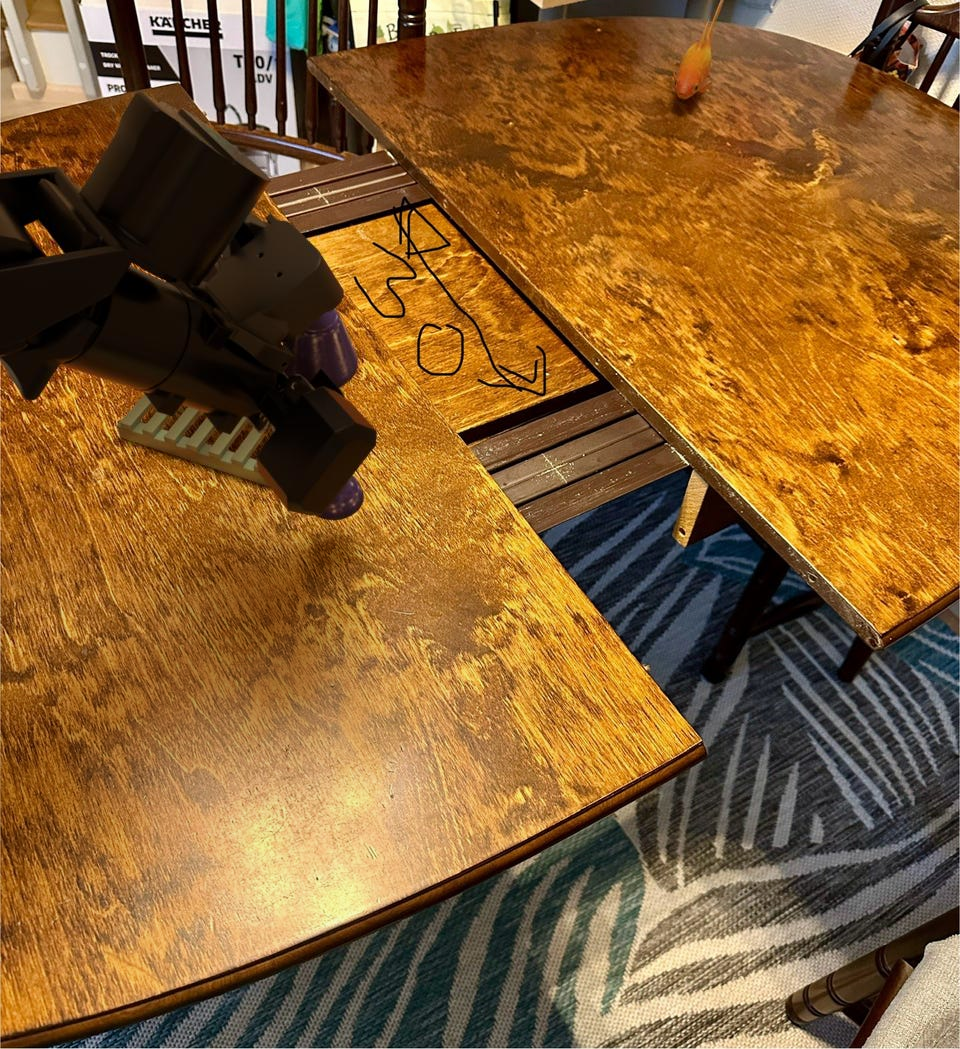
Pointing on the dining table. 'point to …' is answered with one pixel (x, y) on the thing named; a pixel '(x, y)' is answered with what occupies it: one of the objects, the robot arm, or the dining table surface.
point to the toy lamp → (338, 359)
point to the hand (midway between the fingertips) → (342, 412)
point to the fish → (696, 64)
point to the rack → (193, 440)
